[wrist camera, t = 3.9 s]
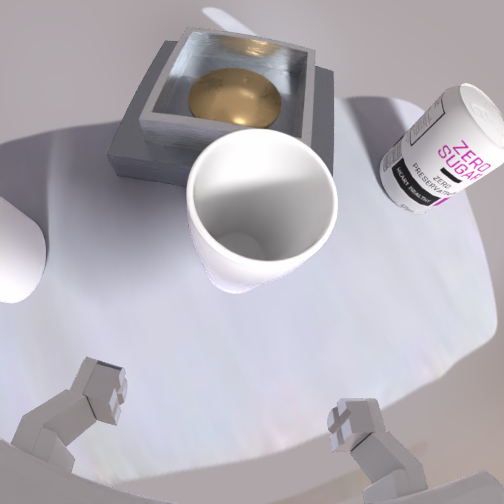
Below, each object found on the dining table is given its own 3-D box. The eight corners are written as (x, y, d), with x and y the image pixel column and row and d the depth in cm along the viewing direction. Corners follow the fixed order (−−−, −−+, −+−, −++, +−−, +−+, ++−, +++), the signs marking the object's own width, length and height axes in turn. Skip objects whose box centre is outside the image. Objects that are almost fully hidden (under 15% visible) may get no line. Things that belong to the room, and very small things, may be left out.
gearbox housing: (117, 175, 27) (95, 132, 20) (167, 63, 32) (163, 18, 25) (316, 212, 29) (348, 177, 22) (322, 92, 34) (343, 50, 27)
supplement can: (419, 157, 34) (492, 91, 19) (437, 216, 32) (526, 163, 17) (369, 150, 33) (440, 67, 18) (385, 216, 31) (481, 147, 16)
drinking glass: (180, 263, 26) (150, 187, 12) (234, 213, 28) (261, 104, 14) (235, 318, 26) (270, 306, 11) (287, 264, 28) (367, 196, 13)
